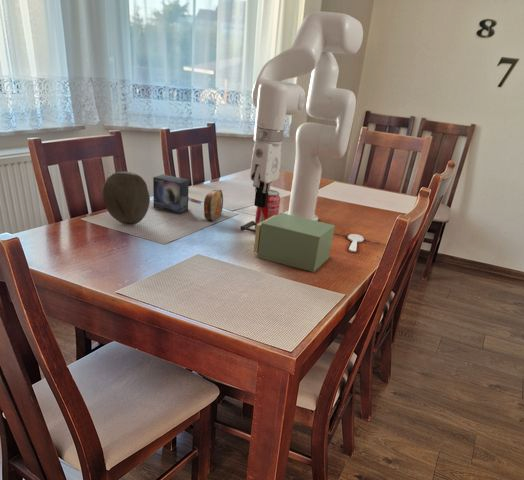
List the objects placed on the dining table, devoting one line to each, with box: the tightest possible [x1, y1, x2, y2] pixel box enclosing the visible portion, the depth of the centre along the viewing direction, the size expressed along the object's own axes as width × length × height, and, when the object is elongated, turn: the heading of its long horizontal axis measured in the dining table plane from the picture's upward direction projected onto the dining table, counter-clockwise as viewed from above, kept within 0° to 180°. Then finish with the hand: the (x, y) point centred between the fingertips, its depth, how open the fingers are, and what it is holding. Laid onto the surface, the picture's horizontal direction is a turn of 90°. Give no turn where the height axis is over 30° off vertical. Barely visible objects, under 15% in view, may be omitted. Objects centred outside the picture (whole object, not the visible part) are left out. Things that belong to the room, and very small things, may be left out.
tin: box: [203, 189, 224, 222], centre depth 161 cm, size 15×3×8 cm, turn 168°
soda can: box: [253, 189, 281, 230], centre depth 151 cm, size 7×7×13 cm
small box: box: [152, 173, 190, 215], centre depth 163 cm, size 11×6×10 cm, turn 68°
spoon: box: [347, 233, 365, 253], centre depth 155 cm, size 5×18×1 cm, turn 166°
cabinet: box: [257, 212, 336, 273], centre depth 135 cm, size 17×14×10 cm
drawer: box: [239, 215, 276, 254], centre depth 137 cm, size 22×13×8 cm, turn 65°
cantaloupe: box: [102, 171, 151, 226], centre depth 144 cm, size 14×14×15 cm
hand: (260, 206), depth 134 cm, fingers closed
